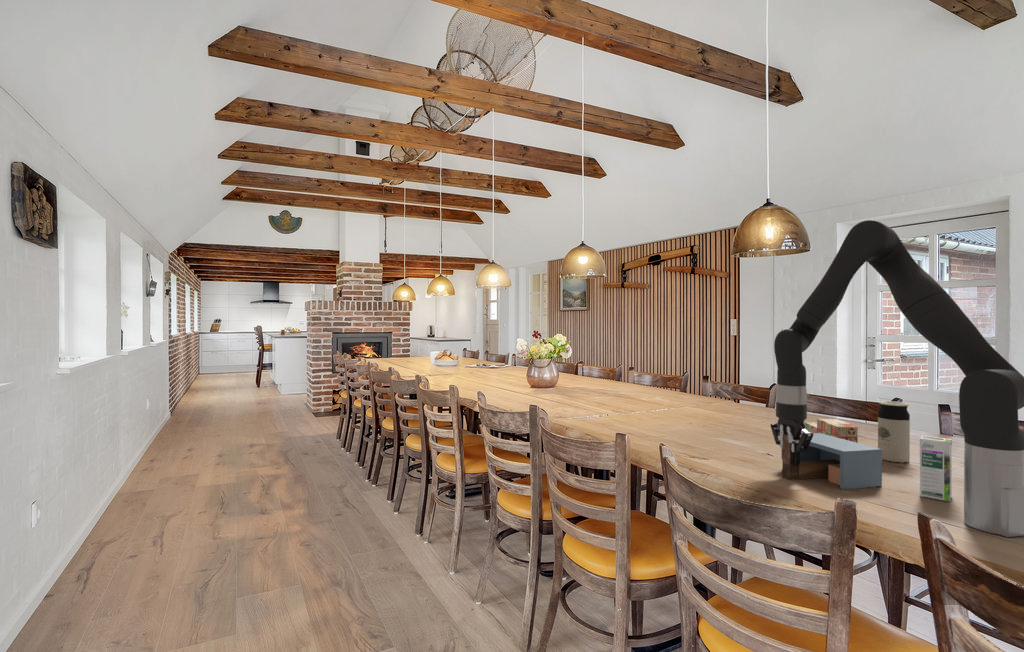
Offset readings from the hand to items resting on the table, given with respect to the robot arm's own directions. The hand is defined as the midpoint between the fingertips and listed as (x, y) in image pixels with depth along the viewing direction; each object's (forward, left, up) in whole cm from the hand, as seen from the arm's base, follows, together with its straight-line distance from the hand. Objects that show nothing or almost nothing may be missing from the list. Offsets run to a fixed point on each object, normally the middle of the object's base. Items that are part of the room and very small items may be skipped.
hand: (790, 463), depth 139 cm
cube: (-6, -11, -4) cm, 13 cm away
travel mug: (+10, -46, -4) cm, 47 cm away
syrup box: (-20, -24, -4) cm, 32 cm away
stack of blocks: (+17, -29, -4) cm, 34 cm away
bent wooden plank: (-3, -7, -4) cm, 9 cm away
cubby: (-1, -12, -4) cm, 13 cm away
